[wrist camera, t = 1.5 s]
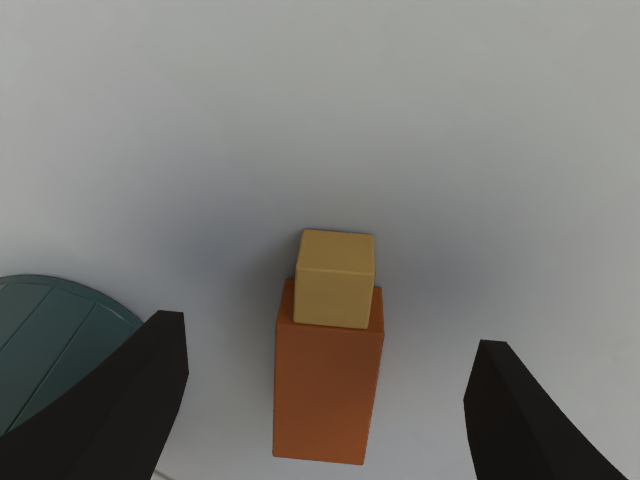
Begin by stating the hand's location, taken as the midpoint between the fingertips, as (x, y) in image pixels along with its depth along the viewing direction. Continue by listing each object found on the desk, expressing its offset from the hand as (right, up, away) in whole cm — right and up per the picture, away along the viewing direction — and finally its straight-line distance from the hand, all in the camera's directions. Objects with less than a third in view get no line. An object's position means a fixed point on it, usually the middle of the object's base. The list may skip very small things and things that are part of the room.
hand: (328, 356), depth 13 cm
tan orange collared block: (0, 0, +6) cm, 6 cm away
